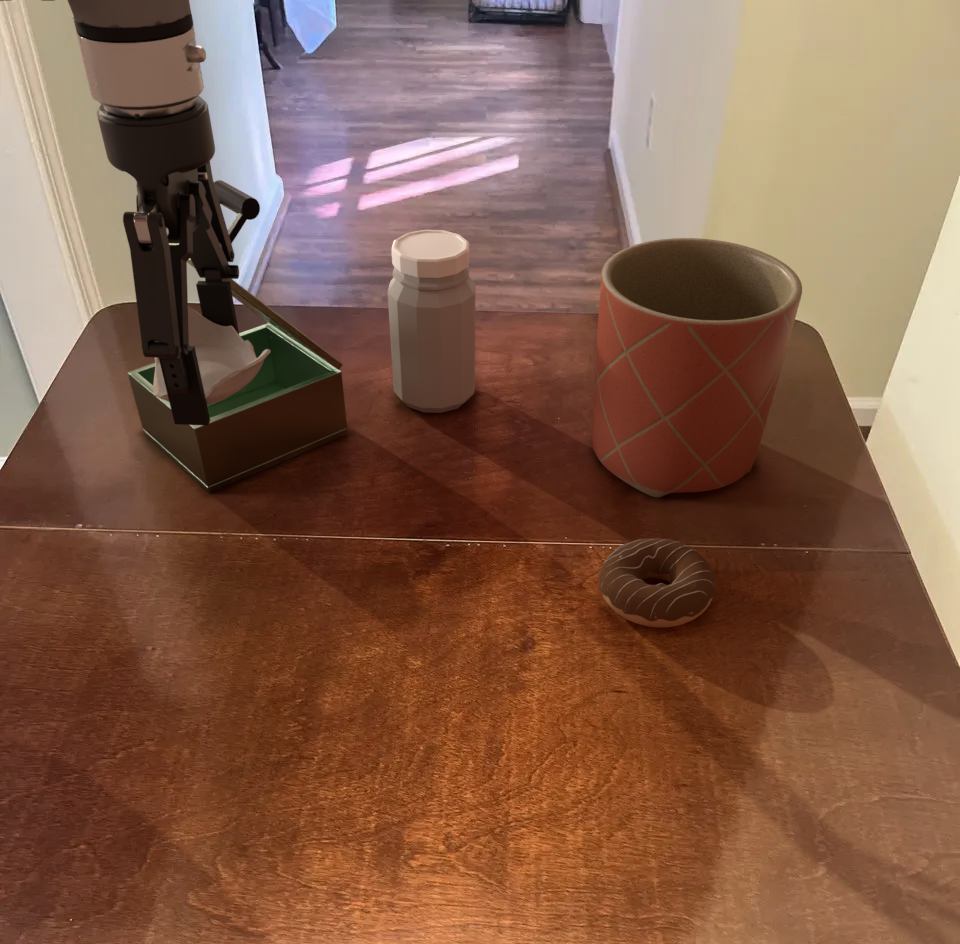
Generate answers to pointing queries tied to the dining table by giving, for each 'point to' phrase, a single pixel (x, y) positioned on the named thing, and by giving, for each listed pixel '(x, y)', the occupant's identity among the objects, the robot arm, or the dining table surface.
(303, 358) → the compartment
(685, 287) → the planter
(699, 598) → the donut
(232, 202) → the lid
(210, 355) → the pottery shard
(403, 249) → the jar
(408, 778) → the dining table surface
